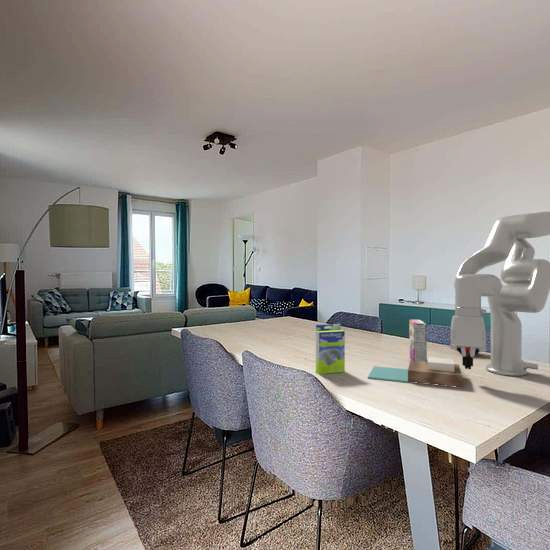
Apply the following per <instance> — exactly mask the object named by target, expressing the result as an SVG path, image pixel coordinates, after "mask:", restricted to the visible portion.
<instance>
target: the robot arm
mask: <svg viewBox="0 0 550 550" xmlns="http://www.w3.org/2000/svg"><path fill="white" fill-rule="evenodd" d="M549 235H550V211H548V210H547V211H540V212H531V213H521V214H516V215H507V216H503V217H500V218H497V219H496V220H495V222H494V223H493V225H492V228H491V230H490V232H489V234H488V236H487V238H486V240H485V242H484V245H483V247H482V248H480V249H479V250H477V251H476V252H474V253H473V254H472V255H471V256H470V257H468V258H467V259H465V261H463V262H462V264H461V265H460V267H459V268H458V271H457V273H456V276H455V278H454V284H453V285H454V292H455V293H454V294H455V297H454V308H455V309H454V315H452V317H451V323H450V338H449V339H450V345H449V349H451V350H452V351H456V352H458V353H459V354H460V355H462V356H461V357H462V358H461V359H462V360H461V361H462V366H464V369H465V370H472V367H474V357H476V356H477V355H476V354H477V353H478V354H479V353H484V352H487V350H488V349H487V335H486V334H487V333H486V325H485V320H484V317H483V315H484V314H487V309H484V308H482V297H486V298H487V302H488V306H489V308H488V309H489V313H490V314H489V315H490V363H489V364H486V365H485V369H486V371H488V372H491V373H493V374H497V375H503V376H512V377H516V376H517V377H519V376H520V377H521V376H526V375H527V374H528V371H527V370H528V369H530V370H539V369H538V368H539V364H537V363H532V362H525V361H524V360H523V359H522V358H523V356H522V355H523V353H522V350H523V348H522V347H523V346H522V342H523V341H522V340H523V339H522V338H523V335H522V334H523V332H522V331H523V329H522V327H523V326H522V321H521V319H520V318H519V315H517V312H518V313H529V314H530V313H531V314H535V313H536V314H537V313H540V312H542V311H543V310H544V308H545V306H546V303H547V300H548V297H549V293H550V261H549V260H547V259H544V258H543V259H542V258H534V257H535V256H536V252H535V248H534V247H533V245H532V244H531V243H530V242H529V241H528V240H527V239H536V238H542V237H546V236H549ZM502 262H503V265H502V268H501V271H500V278H499V277H498V276H497V275H494V274H489V273H487V274H486V273H478V272H480V271H482V270H484V269H485V268H489V267H490V266H494V265H497V264H500V263H502ZM502 282H503V284H502ZM465 347H468V348H470V352H469V354H468V355H467V354H466V351H465ZM475 355H476V356H475Z"/></svg>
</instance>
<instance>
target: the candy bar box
mask: <svg viewBox="0 0 550 550" xmlns="http://www.w3.org/2000/svg"><path fill="white" fill-rule="evenodd" d="M408 324H409V325H408V326H409V359H410V360H411V361H423V362H428V356H427V350H428V349H427V323H426V322H424V321H423V320H422V319H409V323H408Z"/></svg>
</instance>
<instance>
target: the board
mask: <svg viewBox="0 0 550 550" xmlns="http://www.w3.org/2000/svg"><path fill="white" fill-rule="evenodd" d="M407 369H408V383H410V382H417V383H416V384H419V383H429V384H438V385H447V386H456V387H462V388H463V374H462V371H461V367H460V364H457V363H456V364H455V363H454V372H450V371H440V370H429V369H428V361H427V362H423V361H412V360H411V359H410V361H409V364H408V368H407ZM429 384H428V385H429ZM438 385H437V386H438ZM447 386H446V387H447ZM456 387H455V388H456Z"/></svg>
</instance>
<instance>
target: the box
mask: <svg viewBox="0 0 550 550" xmlns="http://www.w3.org/2000/svg"><path fill="white" fill-rule="evenodd" d="M325 327H330V328H325ZM345 332H346V331H345V330H343V329H342V328H341V323H332V324H331V323H330V324H316V325H315V331H314V335H315V372H316V373H317V374H319V375H324V374H333V373H334V374H335V373H336V374H337V373H345V371H346V367H345V363H346V362H345V361H346V360H345V357H346V355H345V352H346V351H345V350H346V347H345V344H346V340H345V339H346V337H345V336H346V333H345Z"/></svg>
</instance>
